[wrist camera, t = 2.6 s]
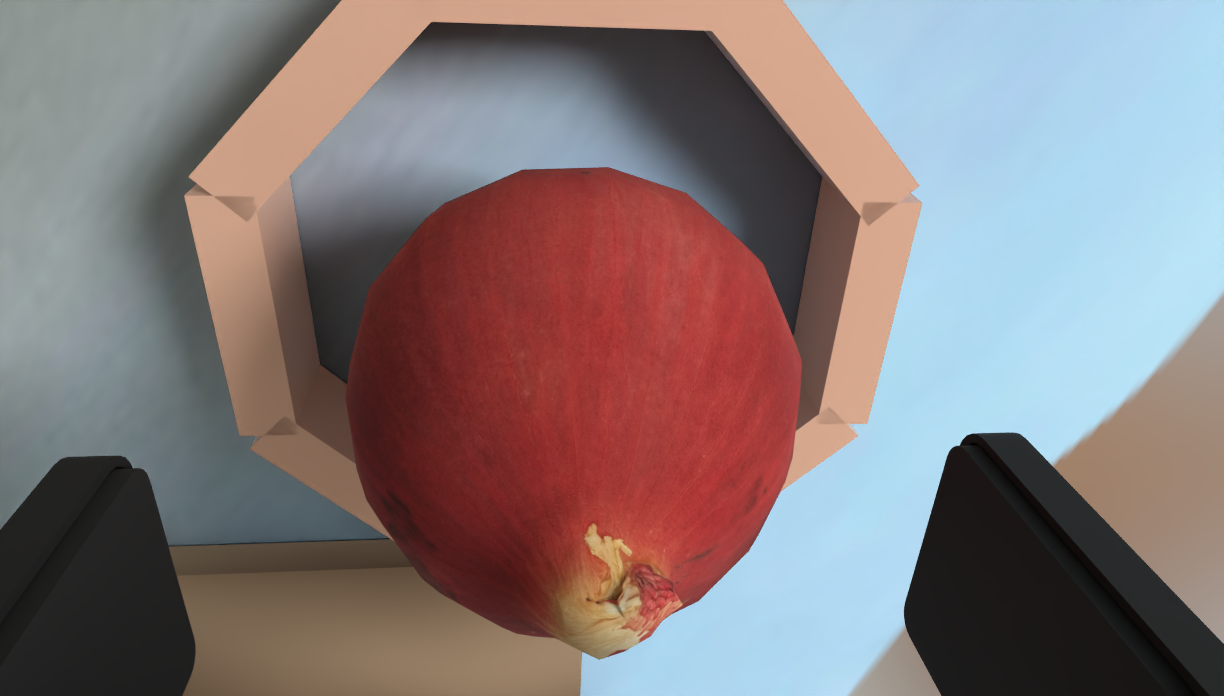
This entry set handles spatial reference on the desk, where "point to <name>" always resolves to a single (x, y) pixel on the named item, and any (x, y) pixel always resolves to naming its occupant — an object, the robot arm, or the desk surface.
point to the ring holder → (407, 3)
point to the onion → (573, 403)
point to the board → (349, 628)
